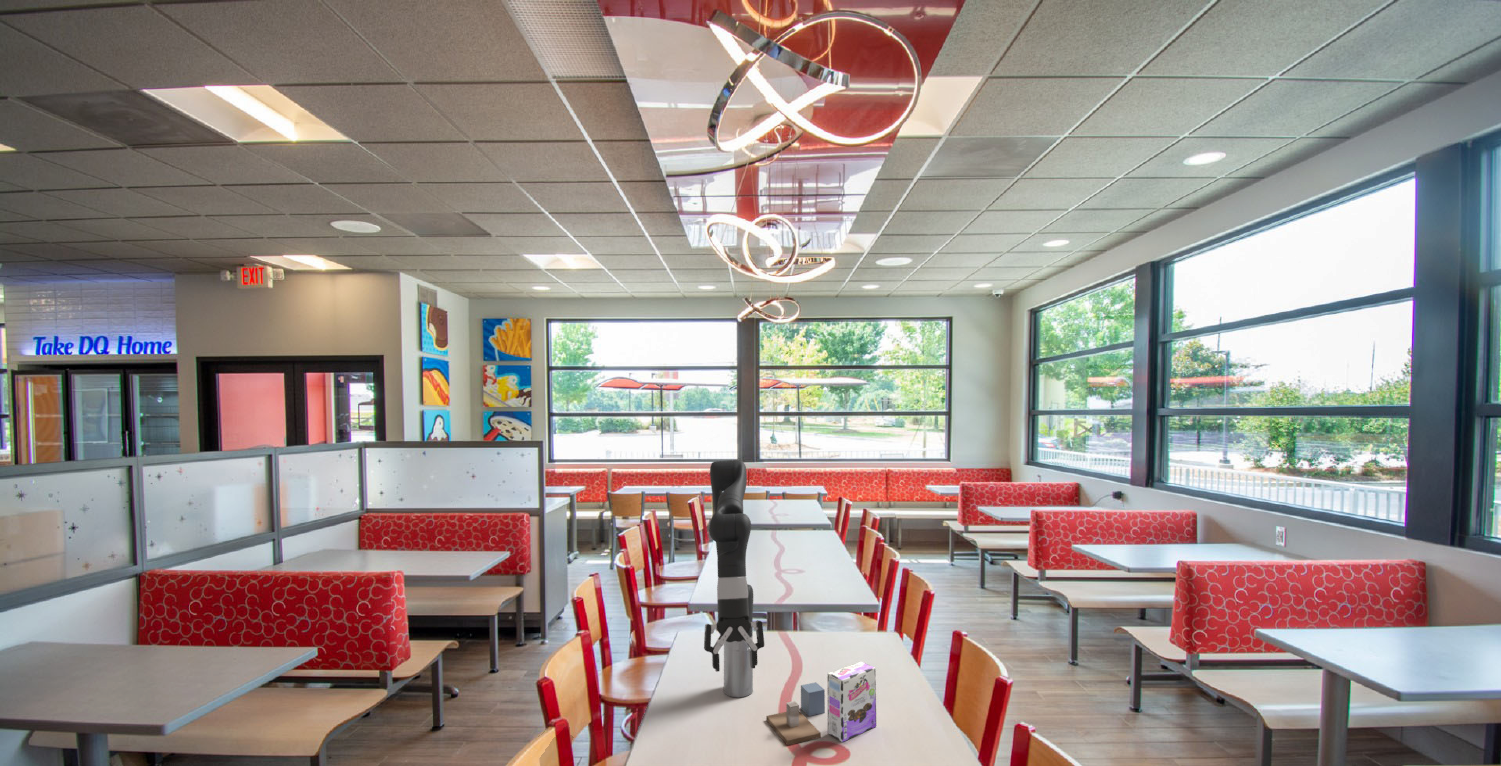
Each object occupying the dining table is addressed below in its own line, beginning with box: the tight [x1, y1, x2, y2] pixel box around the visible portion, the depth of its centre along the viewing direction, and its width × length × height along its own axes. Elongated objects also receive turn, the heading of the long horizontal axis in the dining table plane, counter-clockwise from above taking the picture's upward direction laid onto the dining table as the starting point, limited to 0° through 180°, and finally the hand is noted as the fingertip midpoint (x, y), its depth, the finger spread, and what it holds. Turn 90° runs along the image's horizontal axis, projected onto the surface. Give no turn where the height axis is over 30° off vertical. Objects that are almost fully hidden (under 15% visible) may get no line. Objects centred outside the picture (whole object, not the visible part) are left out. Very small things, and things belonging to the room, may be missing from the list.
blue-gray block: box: [800, 682, 826, 717], centre depth 176 cm, size 5×5×7 cm
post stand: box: [765, 700, 822, 746], centre depth 166 cm, size 14×10×7 cm
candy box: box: [827, 661, 877, 743], centre depth 165 cm, size 14×6×16 cm, turn 126°
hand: (735, 669), depth 140 cm, fingers open, 8 cm apart
